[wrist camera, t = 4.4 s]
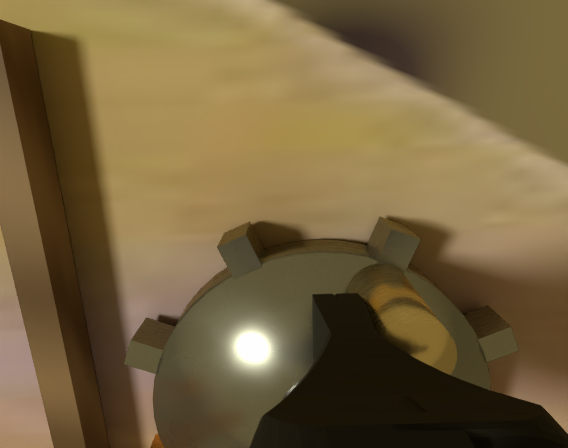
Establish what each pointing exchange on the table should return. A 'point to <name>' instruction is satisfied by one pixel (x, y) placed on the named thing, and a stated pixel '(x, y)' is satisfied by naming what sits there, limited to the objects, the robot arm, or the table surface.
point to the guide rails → (43, 252)
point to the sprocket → (296, 330)
